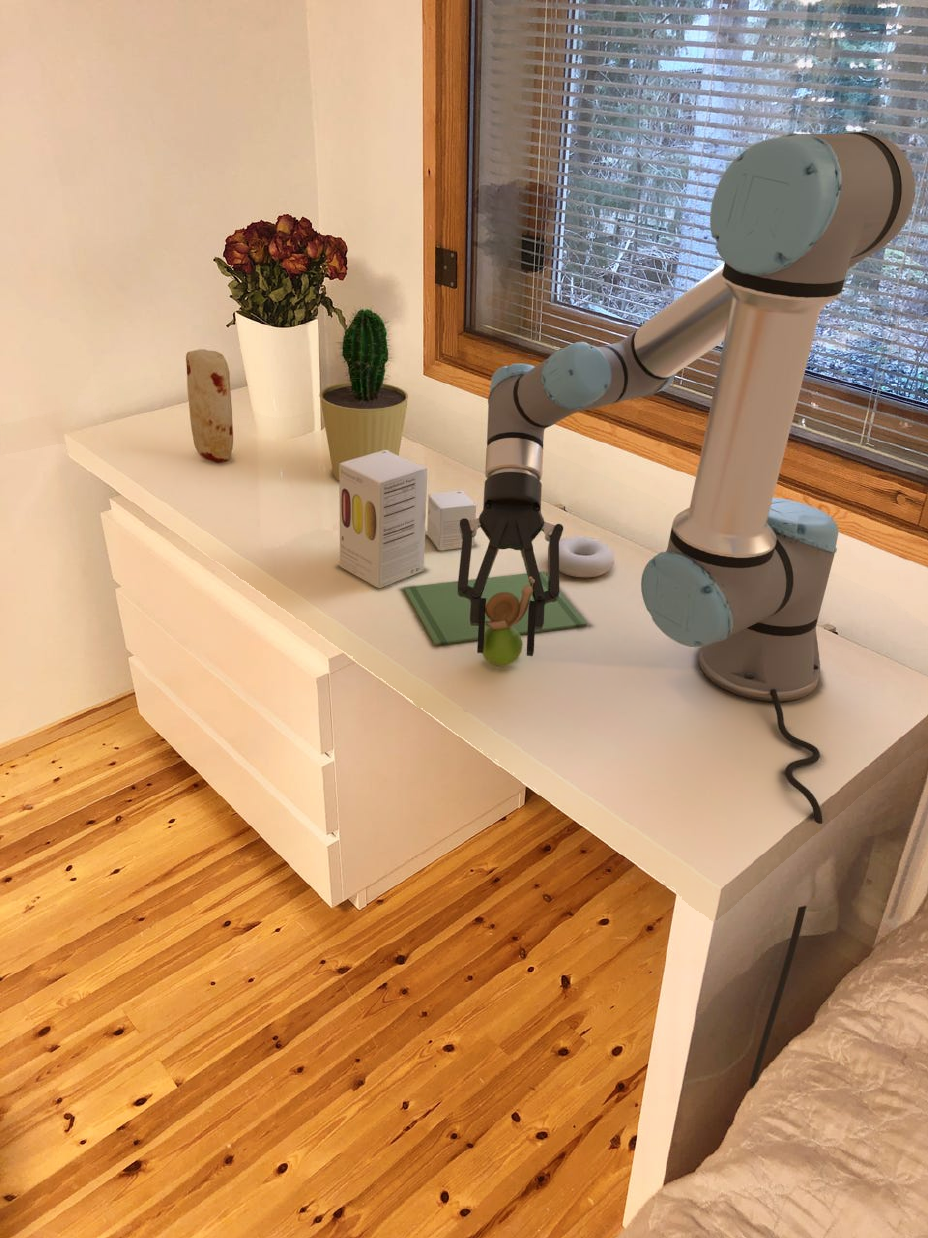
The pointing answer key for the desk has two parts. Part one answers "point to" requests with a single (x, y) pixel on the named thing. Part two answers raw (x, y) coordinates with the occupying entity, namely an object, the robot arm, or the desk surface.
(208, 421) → the food model
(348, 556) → the supplement box
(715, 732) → the desk surface
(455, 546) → the product box
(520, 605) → the snail figurine
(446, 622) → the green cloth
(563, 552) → the donut
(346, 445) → the potted cactus
